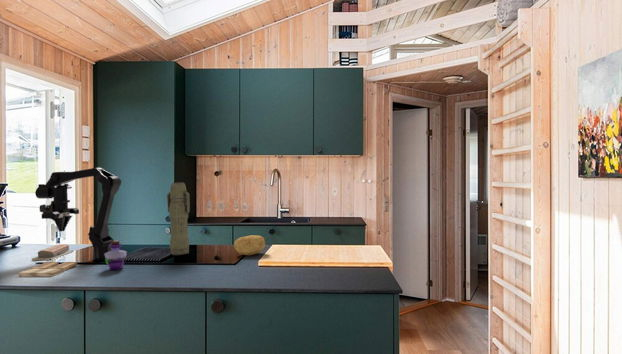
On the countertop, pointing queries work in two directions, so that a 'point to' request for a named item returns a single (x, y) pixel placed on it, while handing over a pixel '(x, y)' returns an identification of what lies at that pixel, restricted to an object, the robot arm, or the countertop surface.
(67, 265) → the inner oak plank
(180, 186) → the olive stone statue
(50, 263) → the outer oak plank
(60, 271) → the pine floorboard strip
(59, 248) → the packaged product
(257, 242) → the potato
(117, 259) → the potion bottle
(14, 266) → the countertop surface
